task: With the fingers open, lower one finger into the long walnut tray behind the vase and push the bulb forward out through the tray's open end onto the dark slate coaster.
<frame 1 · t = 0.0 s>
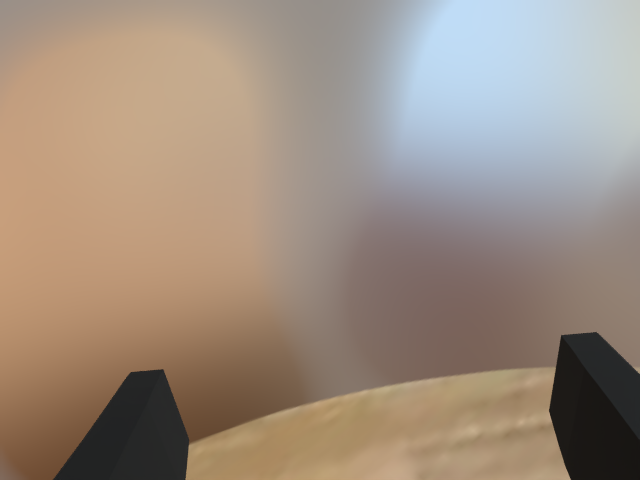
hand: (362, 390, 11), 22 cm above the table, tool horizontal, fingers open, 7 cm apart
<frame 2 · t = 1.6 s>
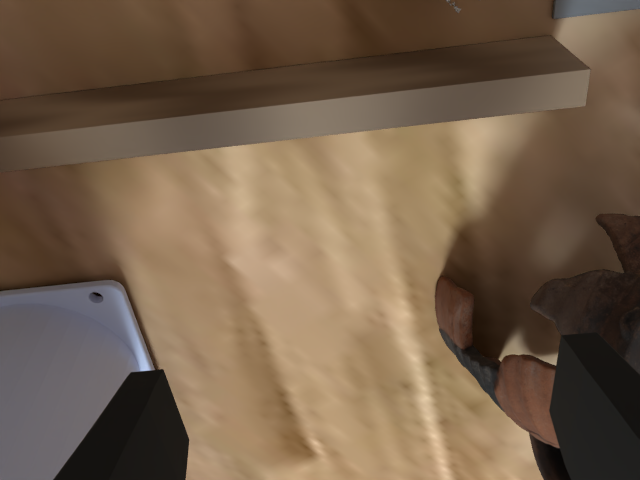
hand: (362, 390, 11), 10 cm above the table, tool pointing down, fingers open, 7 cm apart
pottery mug: (557, 301, 24), on the table
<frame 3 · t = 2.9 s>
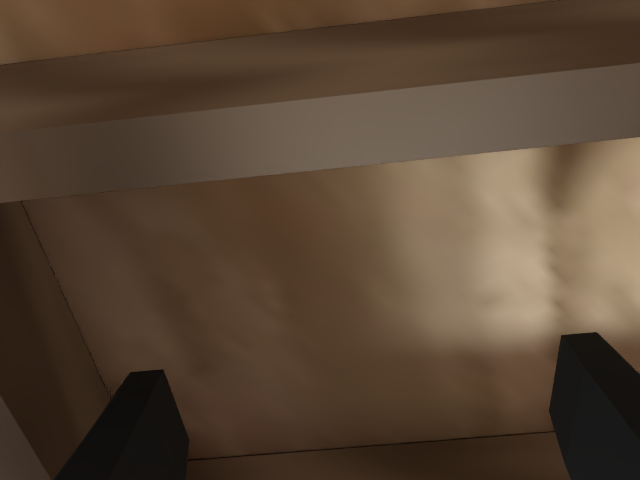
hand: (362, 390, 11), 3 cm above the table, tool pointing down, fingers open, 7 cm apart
walnut tray: (510, 290, 13), on the table
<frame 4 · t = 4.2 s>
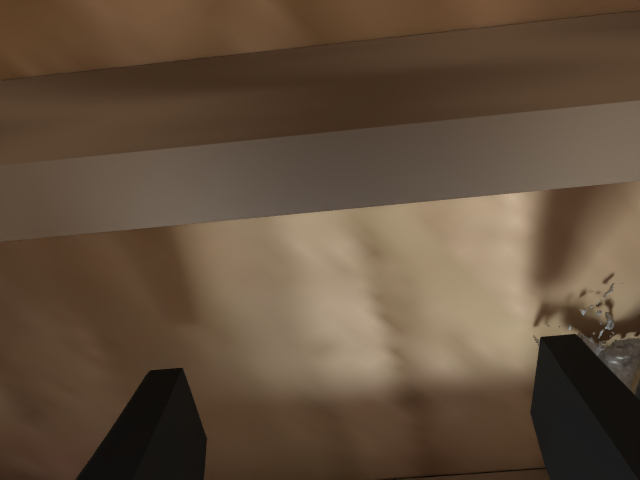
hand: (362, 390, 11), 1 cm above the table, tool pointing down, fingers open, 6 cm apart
walnut tray: (341, 338, 13), on the table
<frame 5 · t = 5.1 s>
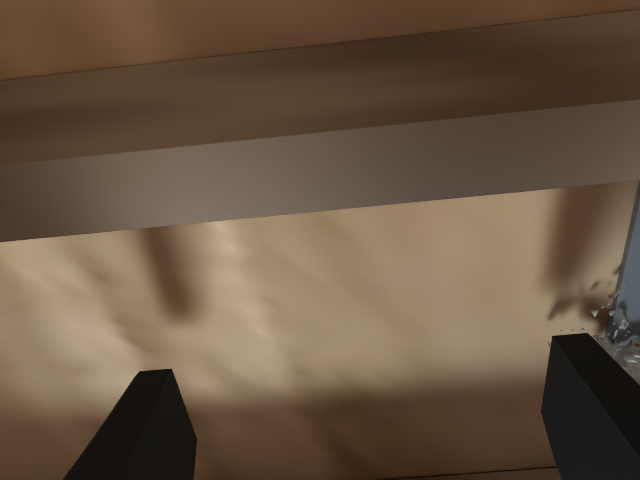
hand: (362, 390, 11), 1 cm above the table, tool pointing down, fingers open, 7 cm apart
walnut tray: (93, 359, 13), on the table
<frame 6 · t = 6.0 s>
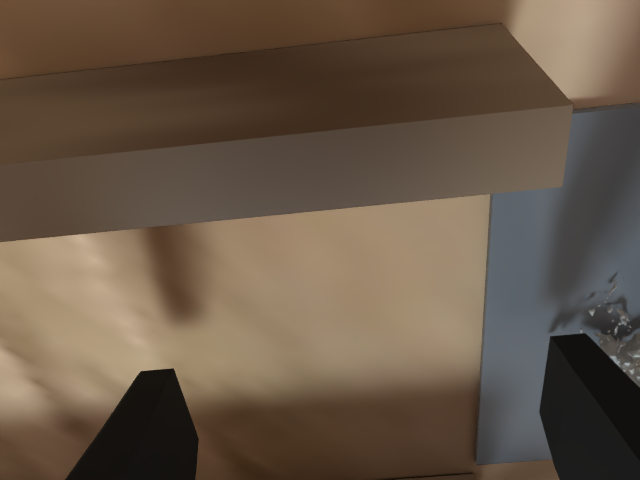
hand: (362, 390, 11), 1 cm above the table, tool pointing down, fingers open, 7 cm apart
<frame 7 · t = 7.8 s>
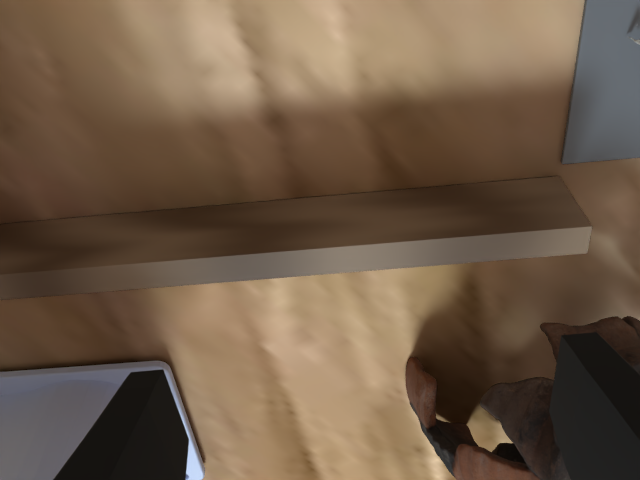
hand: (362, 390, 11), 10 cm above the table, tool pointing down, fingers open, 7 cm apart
walnut tray: (218, 60, 18), on the table
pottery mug: (519, 376, 27), on the table
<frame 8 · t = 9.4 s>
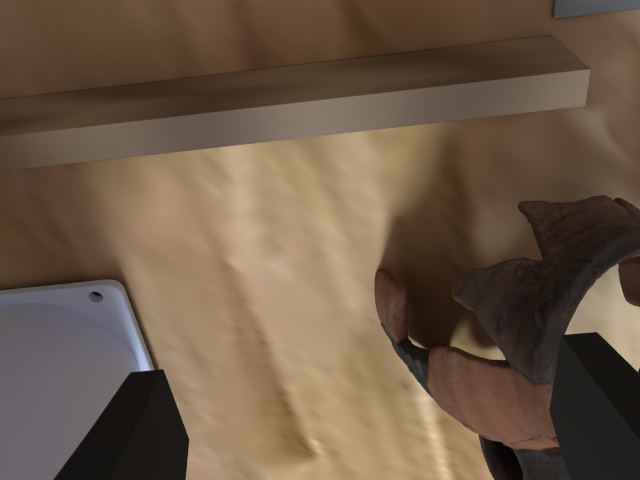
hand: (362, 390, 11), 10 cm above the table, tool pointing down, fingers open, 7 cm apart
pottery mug: (501, 292, 24), on the table
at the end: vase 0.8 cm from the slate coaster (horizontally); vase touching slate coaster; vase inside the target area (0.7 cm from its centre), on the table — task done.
